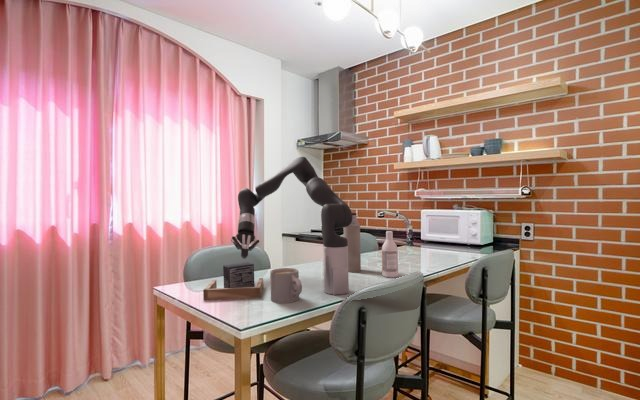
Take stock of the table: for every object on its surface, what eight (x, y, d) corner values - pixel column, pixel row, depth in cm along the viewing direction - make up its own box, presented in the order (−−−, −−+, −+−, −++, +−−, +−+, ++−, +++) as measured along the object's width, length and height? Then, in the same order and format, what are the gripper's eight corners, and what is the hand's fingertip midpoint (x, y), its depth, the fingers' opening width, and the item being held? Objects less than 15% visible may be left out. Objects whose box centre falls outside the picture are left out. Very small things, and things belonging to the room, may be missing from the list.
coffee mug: (266, 298, 126) (265, 270, 126) (290, 293, 131) (290, 266, 131) (283, 307, 115) (282, 276, 115) (309, 301, 120) (308, 272, 120)
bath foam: (384, 273, 162) (383, 230, 162) (399, 275, 159) (398, 230, 159) (380, 277, 155) (379, 231, 155) (396, 278, 152) (395, 232, 152)
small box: (248, 287, 142) (248, 261, 142) (255, 290, 137) (254, 263, 137) (223, 291, 136) (222, 264, 136) (229, 295, 131) (228, 267, 131)
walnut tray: (212, 288, 141) (212, 280, 141) (263, 286, 142) (262, 278, 142) (203, 299, 125) (203, 290, 125) (260, 297, 127) (259, 287, 127)
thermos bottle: (344, 268, 175) (343, 212, 175) (360, 268, 174) (359, 212, 174) (344, 272, 167) (342, 213, 167) (360, 272, 166) (359, 213, 166)
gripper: (258, 231, 169) (257, 263, 158) (230, 227, 164) (227, 260, 154) (262, 222, 164) (261, 255, 153) (233, 218, 159) (230, 251, 148)
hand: (244, 257), depth 153 cm, fingers closed
